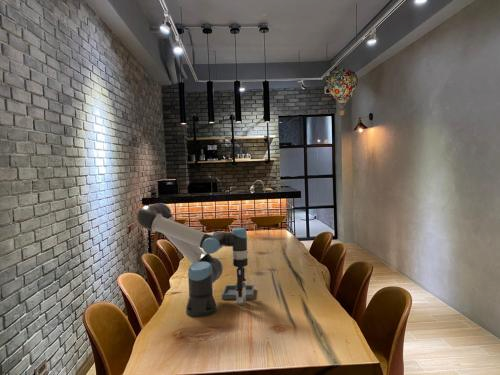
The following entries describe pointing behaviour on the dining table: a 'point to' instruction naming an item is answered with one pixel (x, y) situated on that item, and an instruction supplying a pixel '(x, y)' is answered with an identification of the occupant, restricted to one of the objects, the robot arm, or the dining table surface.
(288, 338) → the dining table surface
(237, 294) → the shaker
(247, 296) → the tray
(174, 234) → the robot arm
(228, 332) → the dining table surface
